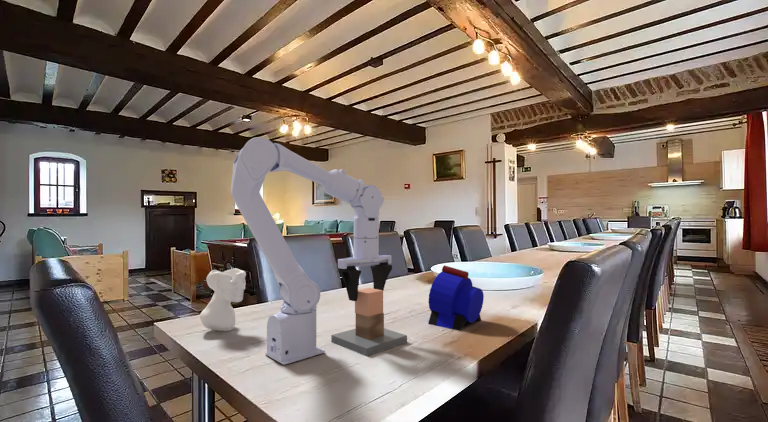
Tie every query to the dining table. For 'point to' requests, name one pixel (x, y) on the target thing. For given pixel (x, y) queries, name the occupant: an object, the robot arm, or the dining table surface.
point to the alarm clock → (454, 299)
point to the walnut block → (370, 326)
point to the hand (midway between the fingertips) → (366, 297)
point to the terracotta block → (369, 302)
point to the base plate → (368, 341)
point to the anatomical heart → (223, 299)
